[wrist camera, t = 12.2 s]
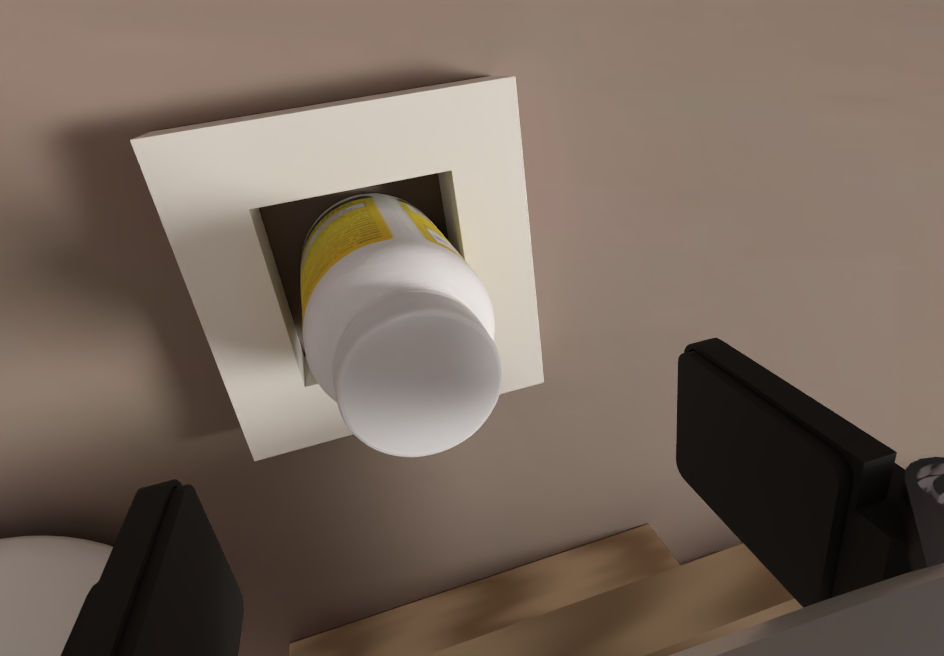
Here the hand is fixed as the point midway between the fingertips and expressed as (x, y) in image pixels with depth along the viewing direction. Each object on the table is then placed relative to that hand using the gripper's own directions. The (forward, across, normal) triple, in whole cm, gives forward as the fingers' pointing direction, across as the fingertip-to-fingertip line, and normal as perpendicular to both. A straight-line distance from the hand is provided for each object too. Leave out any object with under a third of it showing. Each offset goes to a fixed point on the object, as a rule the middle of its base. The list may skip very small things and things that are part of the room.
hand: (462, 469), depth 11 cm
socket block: (+13, +1, 0) cm, 13 cm away
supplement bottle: (+13, 0, 0) cm, 13 cm away
